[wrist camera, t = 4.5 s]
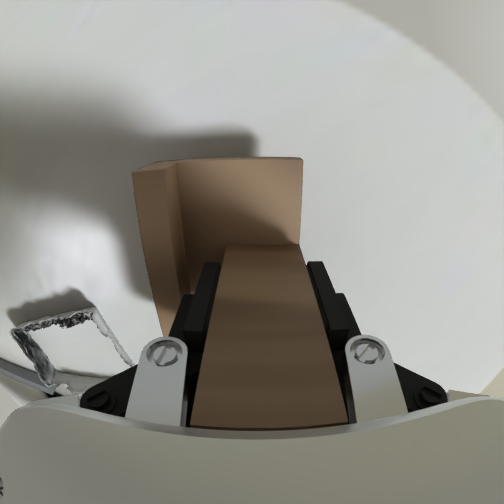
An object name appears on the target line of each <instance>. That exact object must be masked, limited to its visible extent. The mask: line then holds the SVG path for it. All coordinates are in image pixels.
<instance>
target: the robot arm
mask: <svg viewBox="0 0 504 504" xmlns="http://www.w3.org/2000/svg"><path fill="white" fill-rule="evenodd" d="M221 268H222V265H220V263H219V262H205V263H204V266H203V269H202V272H201V275H200V278H199V281H198V284H197V287H196V290H195V293H194V294H184V295H183V297H182V300H181V302H180V305H179V308H178V310H177V313H176V316H175V318H174V321H173V324H172V327H171V329H170V332H169V335H168V336H167V337H160V338H156V339H154V340H152V341H150V342H149V343H148V344H147V345H146V346H145V347H144V348H143V350H142V353H141V356H140V360H139V363H138V364H137V365H135V366H133V367H131V368H129V369H127V370H125V371H123V372H121V373H119V374H117V375H115V376H113V377H111V378H109V379H107V380H105V381H103V382H100V383H98V384H96V385H94V386H92V387H91V388H89V389H87V390H86V391H85V393H84V394H83V395H82V396H81V397H79V396H78V394H73V395H67V396H61V397H55V398H48V399H41V400H35V401H31V402H30V403H28V404H27V405H26V406H23V407H20V408H18V409H16V410H15V411H14V412H13V413H11V414H10V416H9V417H8V418H7V419H6V421H5V422H4V424H3V425H2V427H1V428H0V504H504V399H503V398H499V397H491V396H488V395H480V394H473V393H466V392H460V391H454V390H449V391H448V392H447V393H446V392H445V390H444V389H443V388H442V387H441V386H440V385H438V384H437V383H435V382H433V381H431V380H429V379H427V378H425V377H422V376H420V375H418V374H416V373H414V372H412V371H410V370H408V369H406V368H404V367H402V366H400V365H398V364H396V363H394V362H393V360H392V357H391V354H390V351H389V349H388V347H387V345H386V344H385V343H384V342H383V341H382V340H380V339H378V338H377V337H374V336H370V335H361V333H360V330H359V328H358V325H357V323H356V321H355V318H354V316H353V314H352V311H351V309H350V307H349V304H348V302H347V300H346V297H345V295H344V294H343V293H335V290H334V288H333V285H332V283H331V281H330V278H329V276H328V273H327V271H326V269H325V266H324V264H323V262H322V261H309V262H308V263H307V265H306V268H307V271H308V274H309V277H310V280H311V284H312V287H313V290H314V294H315V297H316V300H317V304H318V307H319V311H320V314H321V317H322V321H323V324H324V328H325V332H326V335H327V339H328V342H329V346H330V350H331V353H332V357H333V361H334V365H335V369H336V372H337V376H338V380H339V384H340V388H341V392H342V396H343V401H344V405H345V409H346V413H347V418H348V423H347V425H341V426H333V427H324V428H314V429H301V430H283V431H230V430H212V429H199V428H191V426H190V421H191V415H192V410H193V404H194V399H195V394H196V388H197V383H198V378H199V373H200V368H201V363H202V357H203V352H204V347H205V343H206V338H207V333H208V328H209V323H210V318H211V314H212V309H213V304H214V300H215V295H216V290H217V286H218V281H219V277H220V272H221Z"/></svg>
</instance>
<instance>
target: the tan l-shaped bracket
mask: <svg viewBox="0 0 504 504" xmlns="http://www.w3.org/2000/svg"><path fill="white" fill-rule="evenodd" d="M132 177H133V185H134V194H135V201H136V208H137V215H138V222H139V228H140V234H141V240H142V245H143V251H144V256H145V261H146V266H147V271H148V276H149V280H150V285H151V289H152V294H153V298H154V302H155V306H156V310H157V314H158V318H159V322H160V326H161V329H162V333H163V337H167V336H168V335H169V332H170V329H171V327H172V324H173V321H174V318H175V316H176V313H177V310H178V308H179V305H180V302H181V300H182V297H183V295H184V294H194V293H195V290H196V287H197V284H198V281H199V278H200V275H201V272H202V269H203V266H204V263H205V262H219V263H220V265H222V268H221V272H220V277H219V281H218V286H217V290H216V295H215V300H214V304H213V309H212V314H211V318H210V323H209V328H208V333H207V338H206V343H205V347H204V352H203V357H202V363H201V368H200V373H199V378H198V383H197V388H196V394H195V399H194V404H193V410H192V415H191V421H190V426H191V428H199V429H212V430H230V431H283V430H301V429H314V428H324V427H333V426H341V425H347V423H348V418H347V413H346V409H345V405H344V401H343V396H342V392H341V388H340V384H339V380H338V376H337V372H336V369H335V365H334V361H333V357H332V353H331V350H330V346H329V342H328V339H327V335H326V332H325V328H324V324H323V321H322V317H321V314H320V311H319V307H318V304H317V300H316V297H315V294H314V290H313V287H312V284H311V280H310V277H309V274H308V271H307V268H306V264H305V261H304V258H303V255H302V252H301V249H300V246H299V240H300V223H301V205H302V182H303V160H302V159H301V158H298V157H223V158H200V159H184V160H171V161H159V162H154V163H151V164H149V165H147V166H145V167H142V168H140V169H138V170H136V171H134V172H132Z"/></svg>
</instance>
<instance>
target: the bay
mask: <svg viewBox="0 0 504 504" xmlns="http://www.w3.org/2000/svg"><path fill="white" fill-rule="evenodd" d="M0 373H2V374H4V375H6V376H8V377H10V378H13V379H15V380H17V381H19V382H21V383H24V384H26V385H28V386H31V387H33V388H36V389H38V390H41V391H43V392H46V393H49V394H51V395H53V393H54V391H55V389H56V387H57V386H56V385H53V386H51V387H47V386H46V385H45V384H44V382H42V381H41V380H40V378H39V376H38V374H37V373H35V372H32V371H29V370H26V369H24V368H21V367H19V366H16V365H14V364H11V363H9V362H7V361H4V360H2V359H0Z"/></svg>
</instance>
